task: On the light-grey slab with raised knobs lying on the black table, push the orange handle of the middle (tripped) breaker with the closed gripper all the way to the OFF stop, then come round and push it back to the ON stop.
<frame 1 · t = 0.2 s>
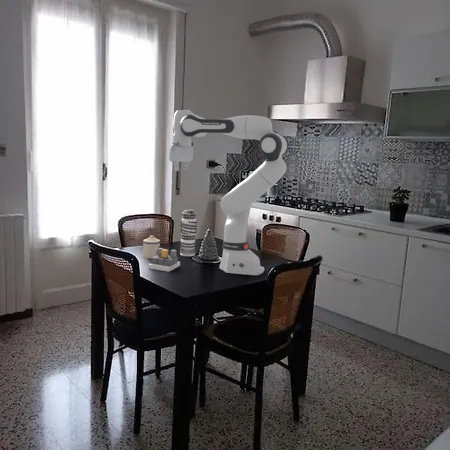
hand: (180, 170, 223), 47 cm above the table, tool pointing down, fingers open, 8 cm apart
teacup with lid: (151, 256, 238), on the table
tripped breaker handle: (164, 253, 217), point 7 cm above the table, slide at 0.0 cm
decorative candle: (187, 254, 245), on the table
slab with raised knobs: (164, 267, 218), on the table
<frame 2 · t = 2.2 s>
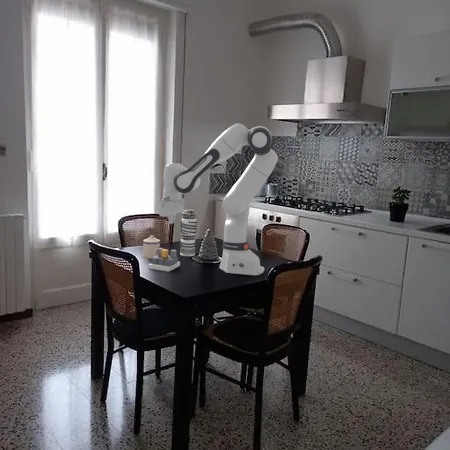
hand: (171, 223, 220), 21 cm above the table, tool pointing down, fingers closed
nothing on the table moved.
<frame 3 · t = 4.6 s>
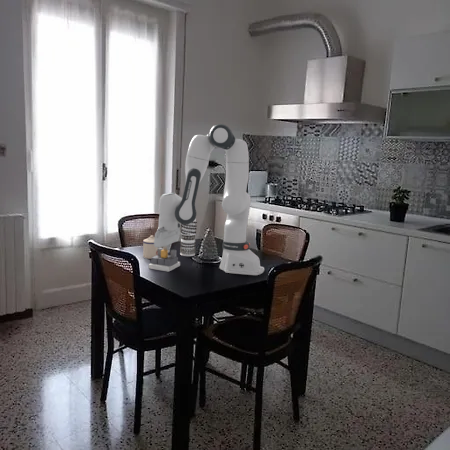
hand: (166, 252, 219), 7 cm above the table, tool pointing down, fingers closed
tripped breaker handle: (164, 253, 216), point 7 cm above the table, slide at 0.6 cm, touching gripper
everything else where it was.
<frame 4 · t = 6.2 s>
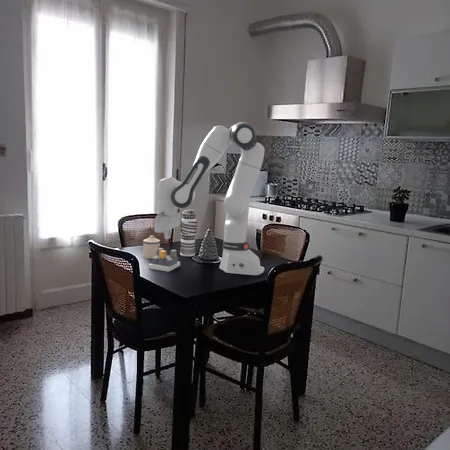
hand: (167, 238, 217), 14 cm above the table, tool pointing down, fingers closed
tripped breaker handle: (162, 254, 215), point 7 cm above the table, slide at 2.3 cm
everything else where it was.
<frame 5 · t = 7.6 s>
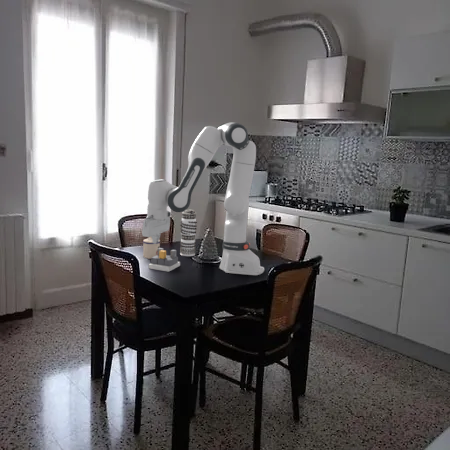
hand: (155, 243, 208), 14 cm above the table, tool pointing down, fingers closed
nothing on the table moved.
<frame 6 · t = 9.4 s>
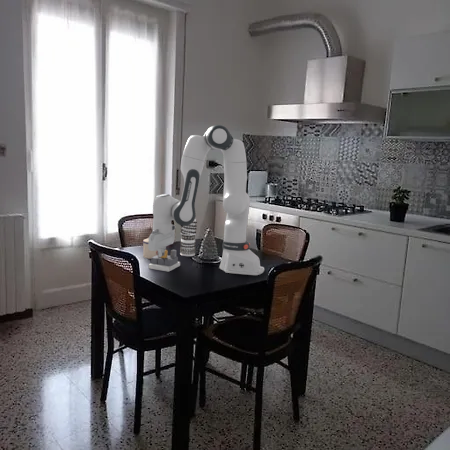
hand: (161, 256, 213), 6 cm above the table, tool pointing down, fingers closed
tripped breaker handle: (164, 253, 216), point 7 cm above the table, slide at 0.9 cm, touching gripper
everything else where it was.
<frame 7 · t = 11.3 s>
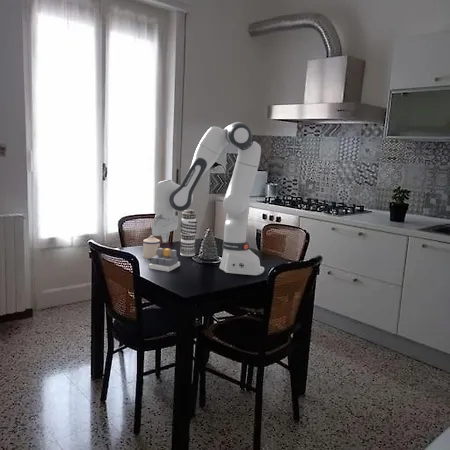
hand: (165, 241, 215), 13 cm above the table, tool pointing down, fingers closed
tripped breaker handle: (167, 252, 219), point 7 cm above the table, slide at -2.3 cm
everything else where it was.
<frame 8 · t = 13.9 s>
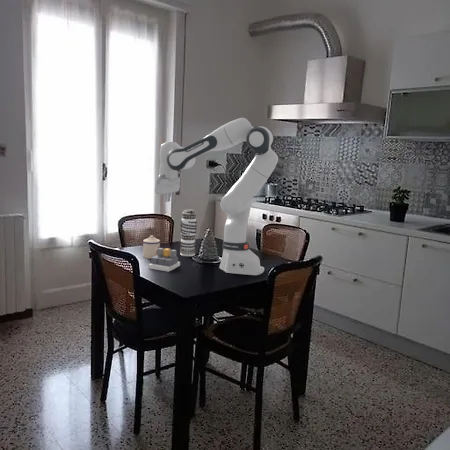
hand: (167, 201, 225), 31 cm above the table, tool pointing down, fingers closed
nothing on the table moved.
at the end: tripped breaker handle slide at -2.3 cm; tripped breaker handle touching nothing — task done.
